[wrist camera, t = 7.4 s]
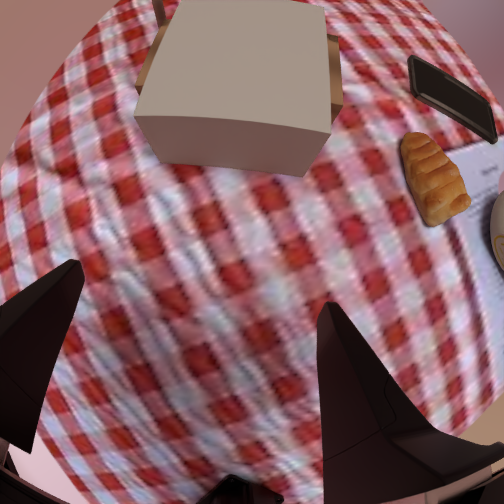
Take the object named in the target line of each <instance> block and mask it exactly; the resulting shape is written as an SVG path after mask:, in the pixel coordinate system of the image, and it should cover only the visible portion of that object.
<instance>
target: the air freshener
mask: <svg viewBox="0 0 504 504" xmlns="http://www.w3.org/2000/svg"><path fill="white" fill-rule="evenodd" d="M490 235H491V243H492V247H493V251H494V254H495V257H496V259H497V261H498V263H499V265H500V266H501V268H502V269H503V271H504V191H502V192H501V193H500V195H499V196H498V197H497V199H496V201H495V203H494V206H493V209H492V213H491V220H490Z"/></svg>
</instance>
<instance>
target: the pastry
mask: <svg viewBox="0 0 504 504" xmlns="http://www.w3.org/2000/svg"><path fill="white" fill-rule="evenodd" d="M401 155H402V158H403V160H404V168H405V177H406V182H407V184H408V185H409V186H410V190H411V192H412V194H413V197H414V200H415V203H416V205H417V208H418V210H419V212H420V214H421V216H422V218H423V219H424V221H425V222H426V223H427V225H428V226H430V227H435V226H437V225H440V224H442V223H444V222H445V221H446V220H447V219H449V218H451V217H452V216H455V215H457V214H458V213H461V212H463V211H465V210H466V209H467V208H468V207H469V206H470V204H471V198H470V196H469V195H468V194H467V192H466V188H465V185H464V181H463V179H462V177H461V175H460V172H459V169H458V167H457V166H456V165H455V164H454V163H453V162H452V161H451V160H450V159H449V157H447V156H446V155H445V154H444V152H443V151H442V149H441V148H440V146H438V145H437V144H436V143H435V141H433V140H432V139H431V138H429V136H428V135H426V134H424V133H420V132H414V133H411V132H408V133H406V134H405V135H404V138H403V141H402V144H401Z"/></svg>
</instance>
